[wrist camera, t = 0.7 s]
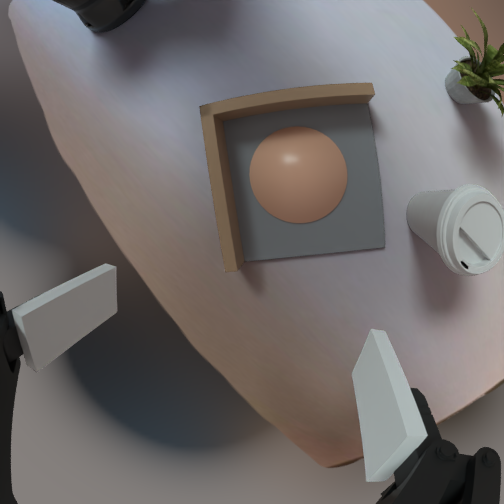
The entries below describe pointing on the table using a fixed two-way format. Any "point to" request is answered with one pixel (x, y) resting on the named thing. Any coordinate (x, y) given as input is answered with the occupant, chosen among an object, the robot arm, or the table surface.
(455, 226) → the coffee cup
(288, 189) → the tray
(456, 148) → the table surface
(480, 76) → the house plant
